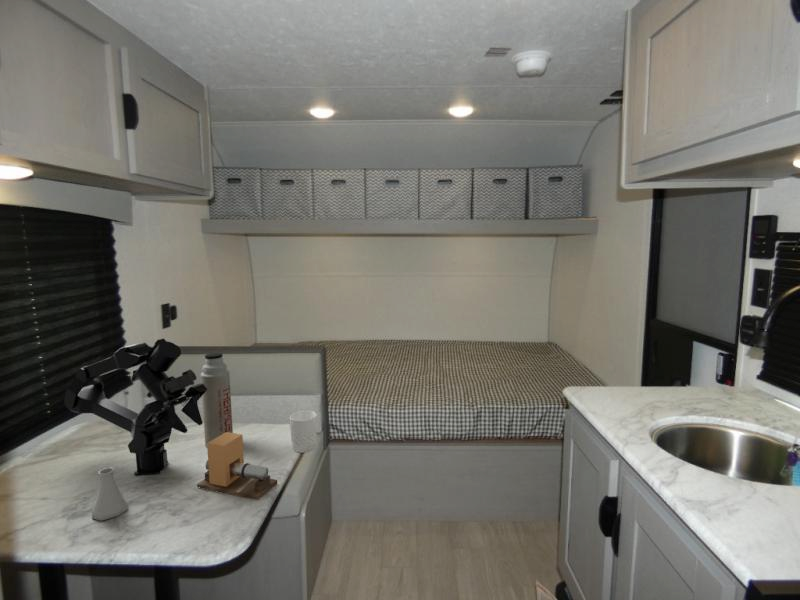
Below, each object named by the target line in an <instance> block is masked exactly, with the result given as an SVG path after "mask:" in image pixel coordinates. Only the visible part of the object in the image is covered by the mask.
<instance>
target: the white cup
mask: <svg viewBox="0 0 800 600" xmlns="http://www.w3.org/2000/svg"><path fill="white" fill-rule="evenodd" d="M317 417H318V414H317V413H316V412H315V411H311V410H300V411H296V412H294V413H291V414H290V415H289V428H290V437H291V438H290V439H291V446H292V451H294V452H296V453H302V454H303V453H309V452H312V451H314V450H315V449H316V446H317V429H318V428H317V421H318V419H317Z"/></svg>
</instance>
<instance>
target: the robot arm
mask: <svg viewBox="0 0 800 600" xmlns="http://www.w3.org/2000/svg"><path fill="white" fill-rule="evenodd" d="M181 354H182V350H181V348H180V346H179V345H176V344H175V343H174V342H171V341H168V340H166V339H165V338H160V339H157V340H156V341H155V342H154V345H153V346H150V345H148V343H147V342H144V341H143V342H138V343H134V344H131V345H130V344H129V345H126V346H122V347H120V348H119V349H117V350H116V351H115V352H114V353H113V355H112V356H109V357H108V358H104V359H102V360H100V361H98V362H94V363H92V364H89V365H84V366H81V367H80V368H79V369H78V370H77V371H76V376H75V378H74V379H73V380H72V381H71V383H70V384H69V385H68V386H67V388H66V391H65V395H64V405H65V407H66V409H68V410H69V411H71V412H73V413H77V414H92V415H95V416H97V417H99V418H101V419H102V420H105V421H108V422H109V423H111V424H113V425H115V426H117V427H119V428H121V429H123V430H125V431H127V432H129V433H130V435H131V438H132V439H131V441H129V443H128V444H127V448H128V451H129V453H130V454H134V455H135V461H136V464H135V465H136V470H135V471H134V472H133V475H135V476H137V475H138V476H139V475H156V474H155V473H158V474H160V473H161V472H162V471H163V470H164V469H163V468H166V466H167V465H168V464H169V460H168V453H167V449H165V444H167V443H169V442H170V440H171V439H170V437H171V434H172V429H174V430H175V431H178V432H181V433H182V434H183V433H184V434H186V433H188V431H189V430H188V428H187V427H186V425H185V423H184V422H183V421H182V420H181V418H180V416H179V415H178V414H177V413H176V408H175V407H176V406H178V405H181V406H182V407H183V408H182V409H181V410H180V411H181V412H182V413H184V415H186V417H188V418H190V419H191V420H192V421H193V422H194V423H196V425H198V426H201V425H202V424H204V421H203V418H202V416H201V412H200V409H199V405H198V401H199V400H200V399H202V395H203V394H204V393H205V392H206V391H207V388H206V387H205V386H204V384H201V382H200V383H196V384H195V381H197V376H196V375H197V374H196V373H195V372H194V371H193V370H192V369H188V370H186V371H184V372H182V373H181V375H180V376H177V377H175V376H173V375H171V376H169V375H167V373H166V372H168V371H169V370H170V369H171V368H172V366H173V365H175V363H176V361H177V360H178V359H179V357H180V356H181ZM137 366H139V367H138V369H135V370H133V371H132V375H131V382H136V381H140V383H141V384H142V385H143V386H144V387H145V389H146V390H147V391H148V392H147V394H146V396H147V398H149V399H150V398H152V397H153V399H154V400H153V401H152V402H150V403H147V404H145V405H144V407H143V408H142V409H141V410H140V411H139V413H138V412H135V411H133V410H131V409H129V408H127V407H125V406H123V405H122V404H119V403H117V402H115V401H113V400H111V399H109V398H107V397H106V393H105V391H104V388H105V384H104V382H103V380H102V377H103V375H104V376H105V375H107V374H109V373H112V372H115V371H117V370H126V369H131V368H135V367H137ZM91 380H93V382H92V384H90V385H87V386H86V384H87V381H89V382H90V381H91ZM189 386H190V387H189ZM187 387H189V388H187ZM183 393H184V394H183ZM167 463H168V464H167Z"/></svg>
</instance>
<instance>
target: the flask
mask: <svg viewBox="0 0 800 600" xmlns="http://www.w3.org/2000/svg"><path fill="white" fill-rule="evenodd" d="M114 473H115V467H112V466H109V467H105V468H102V469H100V470H98V476H99V479H100V483H99V489H98V491H97V492H98V493H97V495H96V500H95V502H94V506H93V508H92V511H91V519H93V520H97V521H100V522H101V521H105V520H108V519H112V518H116V517H118V516H119V515H120V516H121V514H123V513H125V512H127V511H128V510H129V509H128V508H129V507H128V503H127V501H126V499H125V498H124V496H123V494H122V492H121V491H120V489H119V487H118V485H117V484H116V483H117V482H116V480H115V477H114Z"/></svg>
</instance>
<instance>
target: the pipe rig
mask: <svg viewBox="0 0 800 600" xmlns="http://www.w3.org/2000/svg"><path fill="white" fill-rule="evenodd" d="M205 469H206V470H207V471H206V472H204V479H203V480H201V481H200V482H198V483H197V484H196V487H200V488H204V489H203V490H205V489H208V490H207V491H210V490H213V491H212V492H215V491H217V492H216V493H220V492H221V493H220V494H225V493H226V495H230V496H236V497H240V498H245V499H251V500H256V501H259V500H261V498H262V497H264V496H265V495H266V494H267V493H269V492H270V491H271V490H272V489H273V488H274V487H276V485H278V479H275V478H271V475H269V473H270V471H269V468H268V467H266V466H262V465H261V466H260V465H255V464H254V465H253V464H251V463H248V462H247V463H245V462H244V463H238V462H232V463H231V464H229V469H230V474H232V475H237V476H240V477H239V478H237V479H236V480H235V481H233V482H232V483H231V484H229V485H228V486H227V487H225V486H220V485H215V484H210V481H209V466H208V459H207V460H206V463H205ZM200 488H199V489H200Z"/></svg>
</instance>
